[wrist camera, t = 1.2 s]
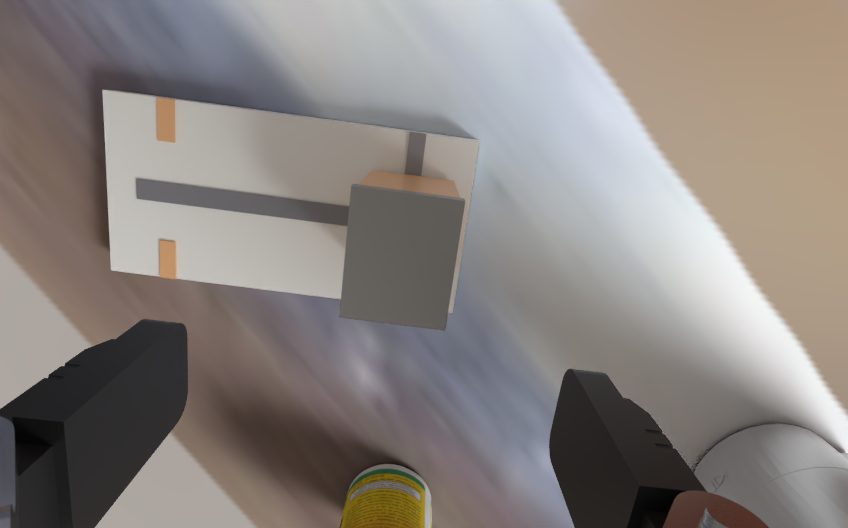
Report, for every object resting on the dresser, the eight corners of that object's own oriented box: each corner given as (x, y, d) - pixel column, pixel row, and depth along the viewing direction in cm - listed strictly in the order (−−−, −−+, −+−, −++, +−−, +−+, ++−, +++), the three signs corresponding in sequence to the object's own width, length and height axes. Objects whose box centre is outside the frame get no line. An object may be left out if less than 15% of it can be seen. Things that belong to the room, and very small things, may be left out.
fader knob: (456, 178, 25) (465, 200, 19) (441, 279, 26) (445, 330, 20) (370, 167, 25) (351, 185, 19) (359, 269, 26) (339, 317, 20)
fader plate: (477, 139, 26) (480, 141, 24) (451, 302, 29) (452, 314, 27) (120, 90, 25) (100, 89, 24) (127, 262, 28) (109, 270, 26)
